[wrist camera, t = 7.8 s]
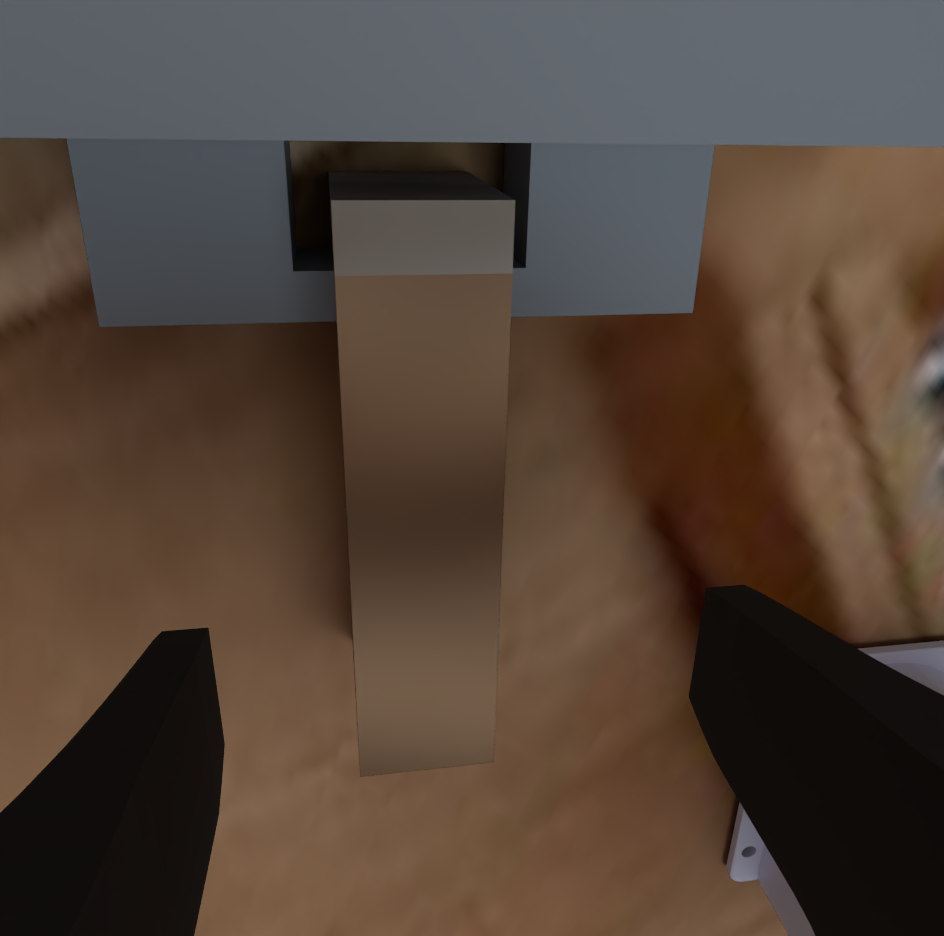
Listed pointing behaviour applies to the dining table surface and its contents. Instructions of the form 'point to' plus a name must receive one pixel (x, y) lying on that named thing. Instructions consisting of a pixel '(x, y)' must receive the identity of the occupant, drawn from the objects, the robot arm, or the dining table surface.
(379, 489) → the wooden arch block
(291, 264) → the grey slotted stand
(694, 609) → the dining table surface
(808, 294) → the dining table surface
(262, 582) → the dining table surface
